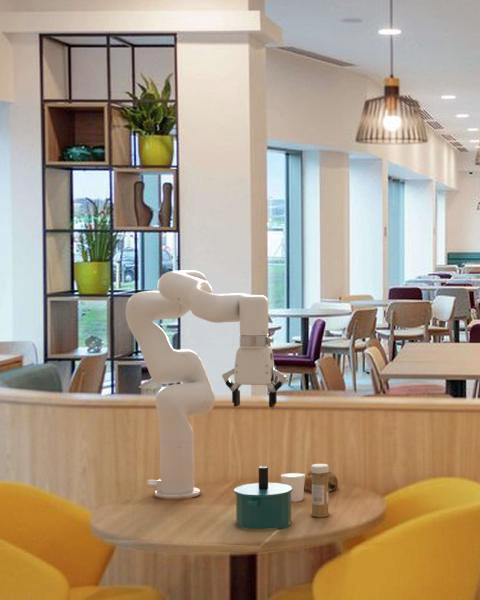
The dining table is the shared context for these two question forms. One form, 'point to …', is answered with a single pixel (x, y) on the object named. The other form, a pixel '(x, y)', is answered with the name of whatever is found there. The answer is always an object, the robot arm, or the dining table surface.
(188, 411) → the robot arm
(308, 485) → the bread roll
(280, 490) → the lid
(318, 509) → the spice jar
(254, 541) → the dining table surface
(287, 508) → the pot
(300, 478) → the white cup
